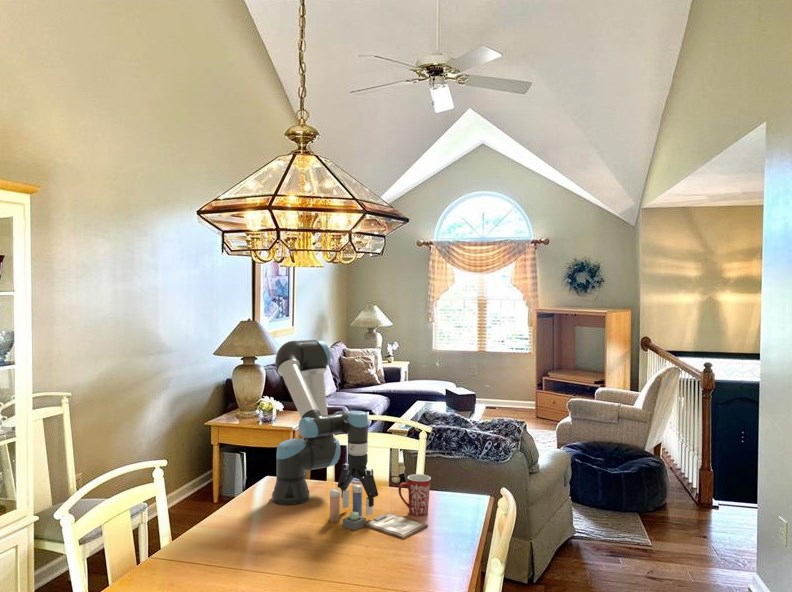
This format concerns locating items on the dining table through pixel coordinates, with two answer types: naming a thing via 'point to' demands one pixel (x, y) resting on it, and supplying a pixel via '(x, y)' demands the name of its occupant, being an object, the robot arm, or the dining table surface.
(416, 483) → the mug
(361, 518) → the button housing
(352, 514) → the button
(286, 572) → the dining table surface
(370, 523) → the clipboard
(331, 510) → the pale pink bottle
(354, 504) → the blue bottle
